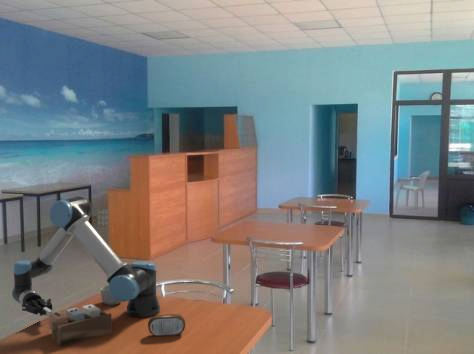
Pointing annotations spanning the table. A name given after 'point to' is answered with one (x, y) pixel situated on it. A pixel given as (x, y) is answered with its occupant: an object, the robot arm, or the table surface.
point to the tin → (166, 325)
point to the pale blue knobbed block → (75, 314)
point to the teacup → (108, 296)
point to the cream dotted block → (91, 310)
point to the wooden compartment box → (82, 329)
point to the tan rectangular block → (58, 318)
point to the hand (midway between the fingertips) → (50, 314)
